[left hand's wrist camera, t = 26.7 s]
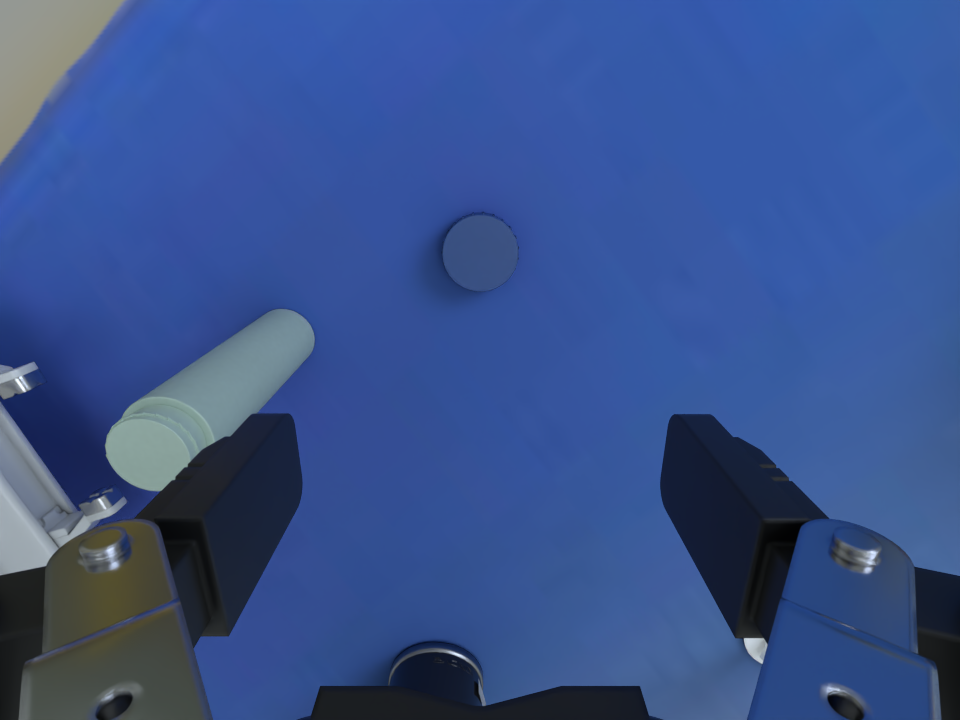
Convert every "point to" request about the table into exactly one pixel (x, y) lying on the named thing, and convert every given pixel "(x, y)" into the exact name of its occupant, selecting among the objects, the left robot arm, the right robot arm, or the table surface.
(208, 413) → the jar
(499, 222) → the lid
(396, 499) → the table surface
